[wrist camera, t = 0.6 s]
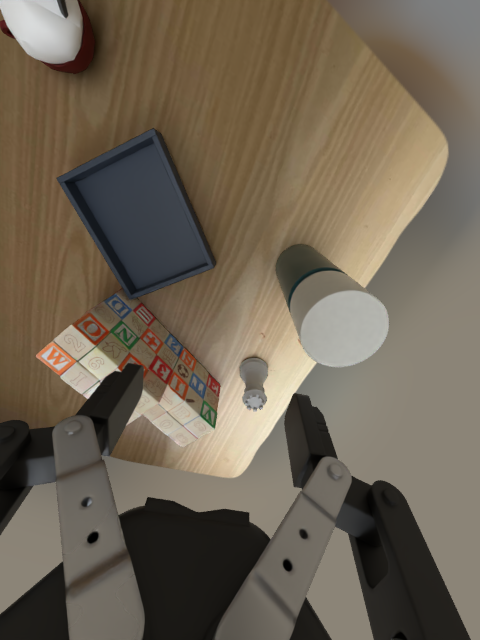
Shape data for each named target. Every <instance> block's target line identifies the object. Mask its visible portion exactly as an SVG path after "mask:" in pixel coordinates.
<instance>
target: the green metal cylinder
mask: <svg viewBox="0 0 480 640" xmlns="http://www.w3.org/2000/svg"><path fill="white" fill-rule="evenodd" d="M322 271H338V272H342V273H344V272H343V271H342V270H341V269H339V268H338V267H337V266H335V265H334V264H333V263H332V262H330V261H329V260H328V259H327V258H325V257H324V256H323V255H321V254H320V253H319V252H318V251H316V250H315V249H314V248H312V247H311V246H308V245H304V244H298V245H294V246H291V247H289V248H287V249H286V250H285V251H283V252H282V254H281V255H280V256H279V258H278V260H277V263H276V274H277V277H278V280H279V283H280V286H281V289H282V291H283V294H284V297H285V300H286V303H287V305H288V308H289V311H290V302H291V298H292V295H293V293H294V291H295V289H296V288H297V287H298V285H299V284H300V283H301V282H302V281H303V280H305V279H306V278H307V277H309V276H311V275H313V274H315V273H318V272H322ZM344 274H346V273H344ZM346 275H347V274H346Z"/></svg>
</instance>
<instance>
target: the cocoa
mask: <svg viewBox="0 0 480 640" xmlns="http://www.w3.org/2000/svg"><path fill="white" fill-rule="evenodd" d="M0 9H1V11H2V14H3V17H4V19H5V20H2V21H0V27H1V30H2V32H3V33H4V34H6V35H7V36H9V37H12V38H14V39H16V40H17V41H18V42H19V44H20V45H21V46H22V48H23V49H24V50H25V52H26V53H27V54H28V55H30V56H32V57H33V58H35V59H37V60H40V61H41V62H43V63H44V64H45V65H47V66H48V67H50V68H52V69H54V70H57V71H62V72H67V73H73V74H76V73H79V72H81V71H83V70H86V69H87V67H88V66H89V64H90V62H91V61H92V59H93V56H94V48H95V40H94V35H93V31H92V27H91V23H90V20H89V17H88V15H87V13H86V11H85V9H84V8H83V6H82V4H81V3H80V1H79V0H0Z"/></svg>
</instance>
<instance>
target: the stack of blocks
mask: <svg viewBox="0 0 480 640" xmlns="http://www.w3.org/2000/svg"><path fill="white" fill-rule="evenodd" d="M36 357H37V358H38V359H40V360H41V361H42V362H43V363H45V364H46V365H47V366H49V367H50V368H51V369H52V370H53V371H55V372H56V373H57V374H58V375H60V378H61V379H62V380H64V381H65V382H66V383H67V384H69V385H70V386H71V387H73V388H74V389H75V390H76V391H78V392H79V393H80V394H84V396H85V397H86V398H87V399H88V398H89V397H90V396H91V395H92V393H93V392H95V390H96V388H97V387H98V386H99V385H100V383H101V382H102V381H103V380H104V378H105V377H106V376H108V375H109V374H111V373H112V372H114V371H119V372H121V371H122V370H123V369H124V367H125V366H126V365H127V364H128V363H132V364H138V365H143V366H144V375H143V391H142V395H141V398H140V400H139V402H138V404H137V406H136V408H135V410H134V412H133V413H132V415H131V417H130V419H129V421H128V423H127V425H128V424H129V423H131V422H132V421H134V420H135V419H137V418H138V417H140V416H141V415H144V416H145V417H146V418H147V419H148V420H150V421H151V423H152V424H154V425H155V426H156V427H157V428H158V429H160V430H161V431H162V432H163V433H164V434H166V435H168V436H169V437H170V438H171V439H172V440H173V441H175V442H176V443H177V444H178V445H179V446H180V447H182V448H183V447H185V446H186V445H188V444H190V443H192V442H194V441H196V440H197V439H198V438H200V437H202V436H204V435H206V434H207V433H209V432H211V431H213V430H215V425H216V419H217V408H218V401H219V393H220V384H218V383H217V381H215V380H214V379H213V377H212V376H210V374H209V373H208V372H207V371H206V370H205V368H204V367H203V366H202V365H201V364H200V363H199V362H197V361H196V359H195V358H194V357H193V356H192V355H191V354H190V353H189V352H188V351H187V350H186V349H185V348H184V347H183V346H182V345H181V344H180V343H179V342H178V341H177V340H176V339H175V338H174V337H173V336H172V335H171V334H170V333H169V332H168V331H167V330H166V329H165V328H164V327H163V326H162V325H161V324H160V323H159V321H158V320H156V318H155V317H154V316H153V314H152V313H151V312H150V311H149V310H148V309H147V308H146V307H145V306H144V305H143V304H142V303H141V302H140V301H139V300H138V298H134V299H132V300H129V298H128V296H127V295H126V293H125V292H124V290H123V288H122V289H121V290H119V291H118V292H117V293H115V294H114V295H112V296H111V297H109V298H108V299H106V300H105V301H103V302H101V303H100V304H98V305H97V306H95V307H94V308H92V309H91V310H89V311H88V312H87V313H86V314H85V315H84V316H82V317H81V318H80V319H79V320H77V321H76V322H74V323H73V324H71V325H70V326H69V327H68V328H67V329H66V330H65V331H63V332H62V333H61V334H60V335H59V336H57V337H56V338H55V339H54V341H52V342H51V343H50V344H48V345H47V346H46V347H45V348H44V349H43V350H42V351H40V352H39V353H38V354H37V355H36Z"/></svg>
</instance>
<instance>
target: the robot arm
mask: <svg viewBox="0 0 480 640" xmlns="http://www.w3.org/2000/svg"><path fill="white" fill-rule="evenodd" d="M143 375H144V366H143V365H138V364H132V363H128V364H127V365H126V366H125V367H124V369H123V370H122V371H121V372H119V371H114V372H112V373H111V374H109V375H108V376H106V377H105V378H104V380H103V381H102V382H101V383H100V385H99V386H98V387H97V388H96V390H95V392H93V393H92V395H91V396H90V397H89V398H88V400H87V401H86V402H85V404H84V405H83V406H82V407H81V409H80V410H79V411H78V412H77V414H76V415H75V416H71V417H68V418H66V419H64V420H62V421H61V422H59V423H58V424H57V425H56V426H54V427H48V428H38V429H29V426H28V424H27V423H26V422H24V421H20V420H11V421H6V422H3V423H0V535H1V533H2V532H3V530H4V529H5V527H6V526H7V524H8V523H9V521H10V520H11V518H12V517H13V515H14V514H15V513H16V511H17V510H18V508H19V507H20V505H21V504H22V502H23V501H24V499H25V497H26V496H27V495H28V493H29V492H30V490H31V489H32V487H33V486H34V485H40V484H46V483H52V482H56V490H57V501H58V511H59V522H60V533H61V544H62V555H63V562H62V563H60V564H59V565H58V566H57V567H56V568H54V569H53V570H52V571H51V572H50V573H49V574H47V575H46V576H45V577H44V578H43V579H42V580H40V581H39V582H38V583H37V584H36V585H34V586H33V587H32V588H31V589H30V590H28V591H27V592H26V593H25V594H24V595H22V596H21V597H20V598H19V599H18V600H17V601H16V602H14V603H13V604H12V605H11V606H10V607H8V608H7V609H6V610H5V611H4V612H2V613H1V614H0V640H332V639H331V638H330V636H329V634H328V633H327V631H326V630H325V628H324V626H323V625H322V623H321V621H320V620H319V618H318V616H317V615H316V613H315V611H314V610H313V608H312V606H311V605H310V603H309V601H308V600H307V598H306V595H307V592H308V590H309V588H310V585H311V583H312V580H313V578H314V576H315V573H316V571H317V568H318V566H319V563H320V561H321V559H322V556H323V554H324V552H325V549H326V547H327V544H328V542H329V540H330V537H331V535H332V532H333V530H334V528H335V527H337V528H339V529H341V530H343V531H345V532H347V533H348V535H349V539H350V543H351V547H352V551H353V556H354V560H355V564H356V568H357V572H358V576H359V580H360V584H361V588H362V592H363V597H364V601H365V605H366V609H367V613H368V617H369V621H370V626H371V630H372V634H373V638H374V640H471V639H470V637H469V635H468V633H467V631H466V628H465V627H464V624H463V622H462V620H461V618H460V616H459V613H458V611H457V609H456V607H455V605H454V602H453V600H452V598H451V596H450V594H449V592H448V589H447V587H446V585H445V583H444V581H443V579H442V576H441V575H440V572H439V570H438V568H437V566H436V564H435V562H434V559H433V557H432V555H431V553H430V551H429V549H428V547H427V544H426V542H425V540H424V538H423V535H422V533H421V531H420V529H419V527H418V525H417V522H416V520H415V518H414V516H413V514H412V512H411V510H410V507H409V505H408V503H407V501H406V499H405V497H404V496H403V495H402V493H401V492H400V491H399V490H398V489H397V488H396V487H394V486H393V485H391V484H390V483H388V482H385V481H381V480H380V481H376V482H374V483H373V485H372V486H371V485H369V484H367V483H365V482H363V481H361V480H358V479H356V478H355V477H353V476H351V474H350V472H349V470H348V468H347V467H346V466H345V465H344V464H343V463H342V462H340V461H339V460H338V458H337V455H336V452H335V449H334V446H333V443H332V440H331V437H330V434H329V433H328V428H327V426H326V422H325V419H324V416H323V414H322V413H321V412H320V410H319V409H318V408H317V407H313V406H312V405H311V401H310V398H309V396H307V395H302V394H296V393H294V394H293V396H292V398H291V401H290V404H289V406H288V409H287V412H286V415H285V423H284V424H285V432H286V438H287V445H288V451H289V458H290V465H291V472H292V478H293V485H294V487H299V488H302V491H300V493H299V494H298V496H297V498H296V499H295V501H294V503H293V504H292V506H291V507H290V509H289V511H288V512H287V514H286V516H285V517H284V519H283V520H282V522H281V524H280V525H279V527H278V529H277V530H276V532H275V534H274V535H273V537H272V539H270V538H269V537H268V536H267V535H266V534H265V532H263V531H262V530H261V529H260V528H258V527H257V526H256V525H254V524H253V523H250V522H249V513H248V512H242V511H235V510H229V509H221V510H213V511H207V512H195V511H193V510H191V509H189V508H187V507H185V506H182V505H180V504H178V503H176V502H174V501H169V500H163V499H156V498H150V497H148V498H147V501H146V503H145V506H141V507H137V508H133V509H130V510H128V511H126V512H124V513H122V514H120V515H118V512H117V508H116V504H115V500H114V496H113V492H112V488H111V484H110V481H109V476H108V472H107V468H106V465H105V462H104V460H102V457H101V455H103V456H110V454H111V453H112V451H113V449H114V447H115V445H116V443H117V441H118V440H119V438H120V436H121V434H122V432H123V430H124V428H125V426H126V425H127V423H128V421H129V419H130V417H131V415H132V413H133V412H134V410H135V408H136V406H137V404H138V402H139V400H140V398H141V395H142V391H143Z"/></svg>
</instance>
